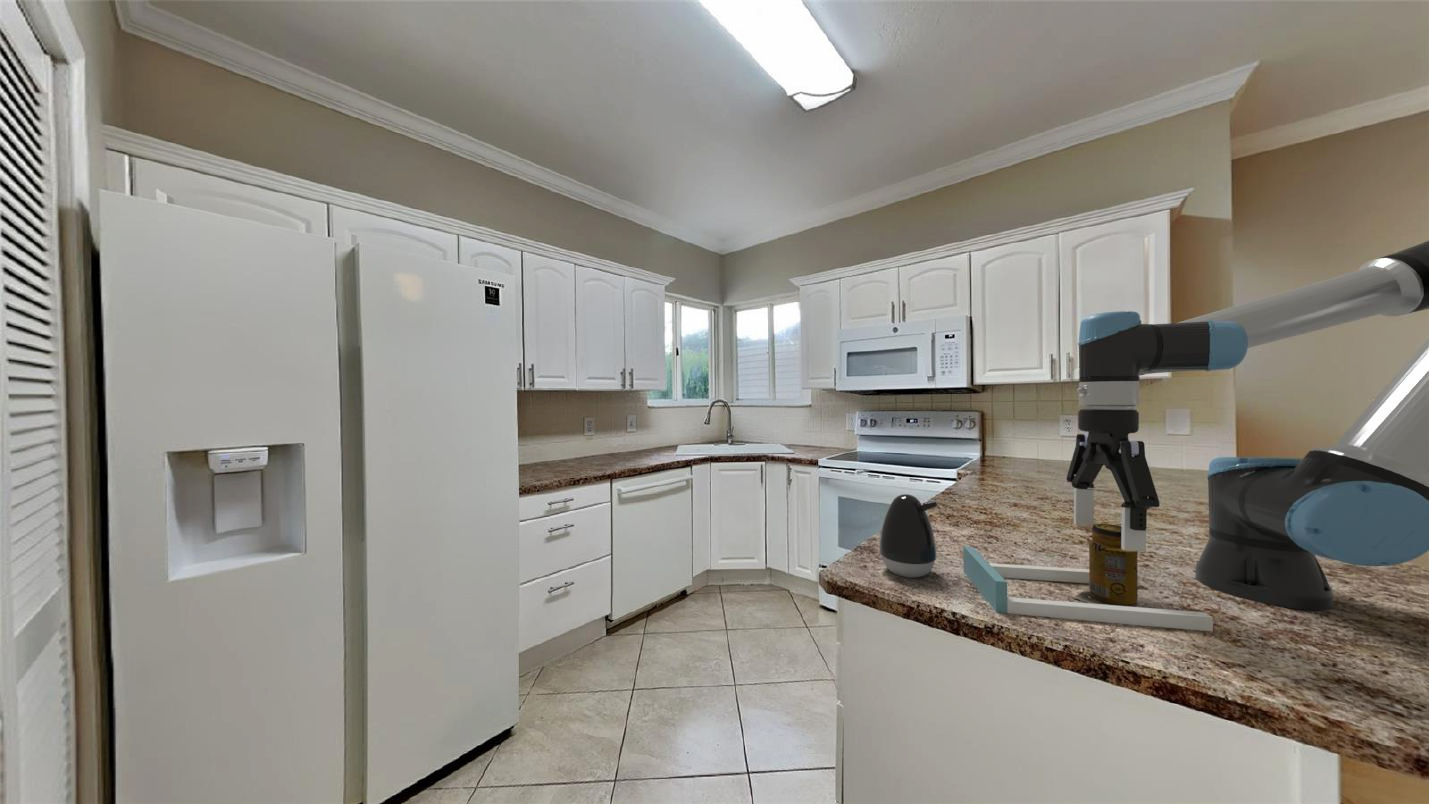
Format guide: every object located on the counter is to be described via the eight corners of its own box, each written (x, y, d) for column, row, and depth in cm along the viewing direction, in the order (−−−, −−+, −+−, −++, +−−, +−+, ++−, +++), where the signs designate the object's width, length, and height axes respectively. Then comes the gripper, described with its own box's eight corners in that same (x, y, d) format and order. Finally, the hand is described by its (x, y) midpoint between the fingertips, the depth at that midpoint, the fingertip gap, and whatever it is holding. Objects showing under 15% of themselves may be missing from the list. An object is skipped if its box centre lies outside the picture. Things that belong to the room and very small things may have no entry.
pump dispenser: (934, 588, 81) (933, 502, 81) (873, 576, 86) (872, 496, 86) (941, 569, 89) (940, 492, 89) (886, 560, 95) (885, 487, 95)
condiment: (1147, 602, 74) (1147, 528, 74) (1130, 616, 70) (1129, 538, 69) (1092, 587, 80) (1091, 519, 80) (1072, 599, 76) (1072, 527, 76)
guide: (1133, 583, 81) (1133, 555, 81) (1213, 631, 65) (1212, 596, 65) (963, 571, 88) (963, 546, 88) (996, 613, 71) (995, 581, 71)
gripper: (1045, 406, 88) (1044, 515, 88) (1130, 410, 63) (1128, 561, 64) (1091, 406, 86) (1090, 518, 86) (1195, 410, 62) (1193, 566, 62)
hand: (1106, 537), depth 75 cm, fingers open, 13 cm apart
